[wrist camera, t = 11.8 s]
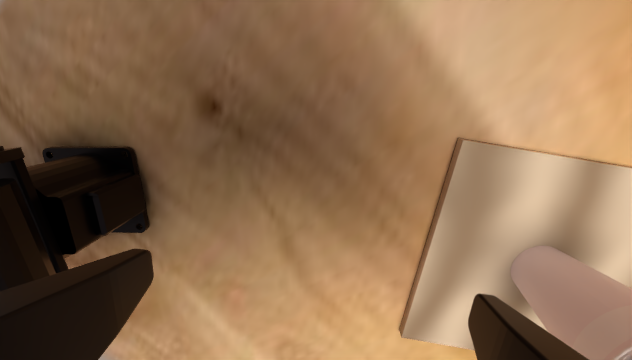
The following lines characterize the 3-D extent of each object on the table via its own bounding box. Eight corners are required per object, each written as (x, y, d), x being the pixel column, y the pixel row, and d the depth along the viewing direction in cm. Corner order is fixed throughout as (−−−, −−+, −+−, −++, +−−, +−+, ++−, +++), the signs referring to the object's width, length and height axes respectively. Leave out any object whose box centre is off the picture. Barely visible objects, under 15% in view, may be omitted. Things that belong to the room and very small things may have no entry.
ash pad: (399, 329, 24) (401, 337, 23) (458, 138, 19) (463, 140, 19) (592, 363, 24) (601, 372, 23) (700, 178, 19) (715, 182, 18)
